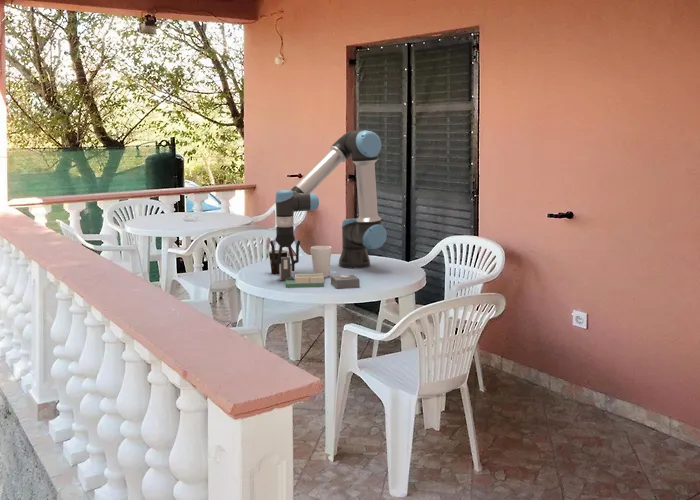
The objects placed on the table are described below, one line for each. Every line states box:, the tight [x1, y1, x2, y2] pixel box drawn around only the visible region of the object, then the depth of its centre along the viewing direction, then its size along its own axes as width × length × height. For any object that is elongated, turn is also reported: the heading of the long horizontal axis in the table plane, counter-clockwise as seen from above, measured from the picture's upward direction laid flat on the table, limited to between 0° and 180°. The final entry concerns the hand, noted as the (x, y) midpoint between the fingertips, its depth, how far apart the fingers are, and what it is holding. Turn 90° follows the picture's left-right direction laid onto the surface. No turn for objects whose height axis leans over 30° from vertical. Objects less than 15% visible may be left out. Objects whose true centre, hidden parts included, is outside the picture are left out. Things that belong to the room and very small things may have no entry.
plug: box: [280, 256, 291, 282], centre depth 331 cm, size 4×5×10 cm
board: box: [285, 276, 325, 288], centre depth 323 cm, size 16×11×2 cm
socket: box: [294, 273, 325, 284], centre depth 321 cm, size 12×8×2 cm, turn 95°
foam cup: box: [310, 245, 333, 278], centre depth 340 cm, size 10×9×13 cm
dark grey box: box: [330, 274, 360, 290], centre depth 320 cm, size 10×10×4 cm
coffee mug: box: [268, 249, 289, 275], centre depth 349 cm, size 12×9×10 cm
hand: (285, 278), depth 332 cm, fingers closed on plug, 4 cm apart
